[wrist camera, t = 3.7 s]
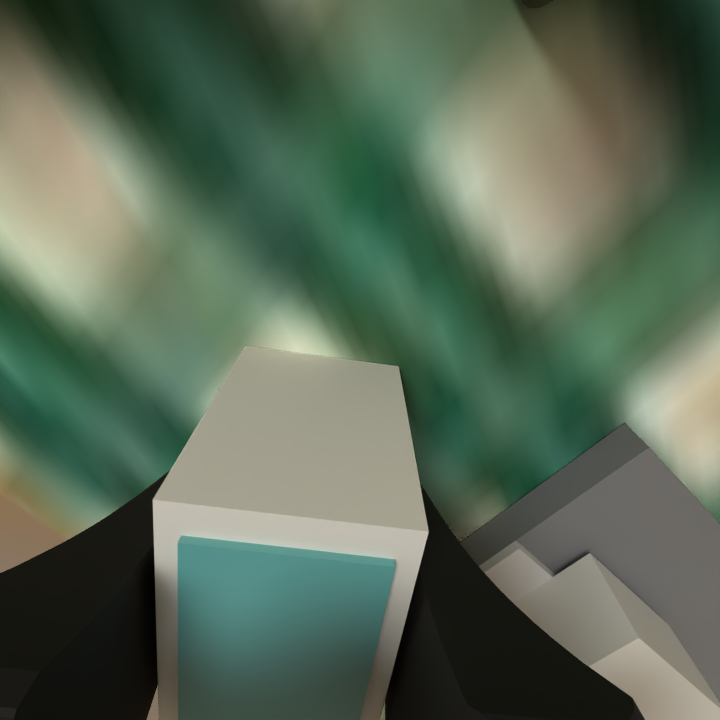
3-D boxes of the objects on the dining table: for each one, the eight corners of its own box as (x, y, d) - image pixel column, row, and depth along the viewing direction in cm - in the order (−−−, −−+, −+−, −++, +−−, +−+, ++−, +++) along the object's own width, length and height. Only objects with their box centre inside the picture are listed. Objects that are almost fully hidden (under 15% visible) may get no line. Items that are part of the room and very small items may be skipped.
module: (398, 366, 13) (430, 539, 7) (364, 541, 15) (367, 778, 9) (245, 346, 12) (148, 506, 7) (235, 526, 15) (156, 759, 9)
